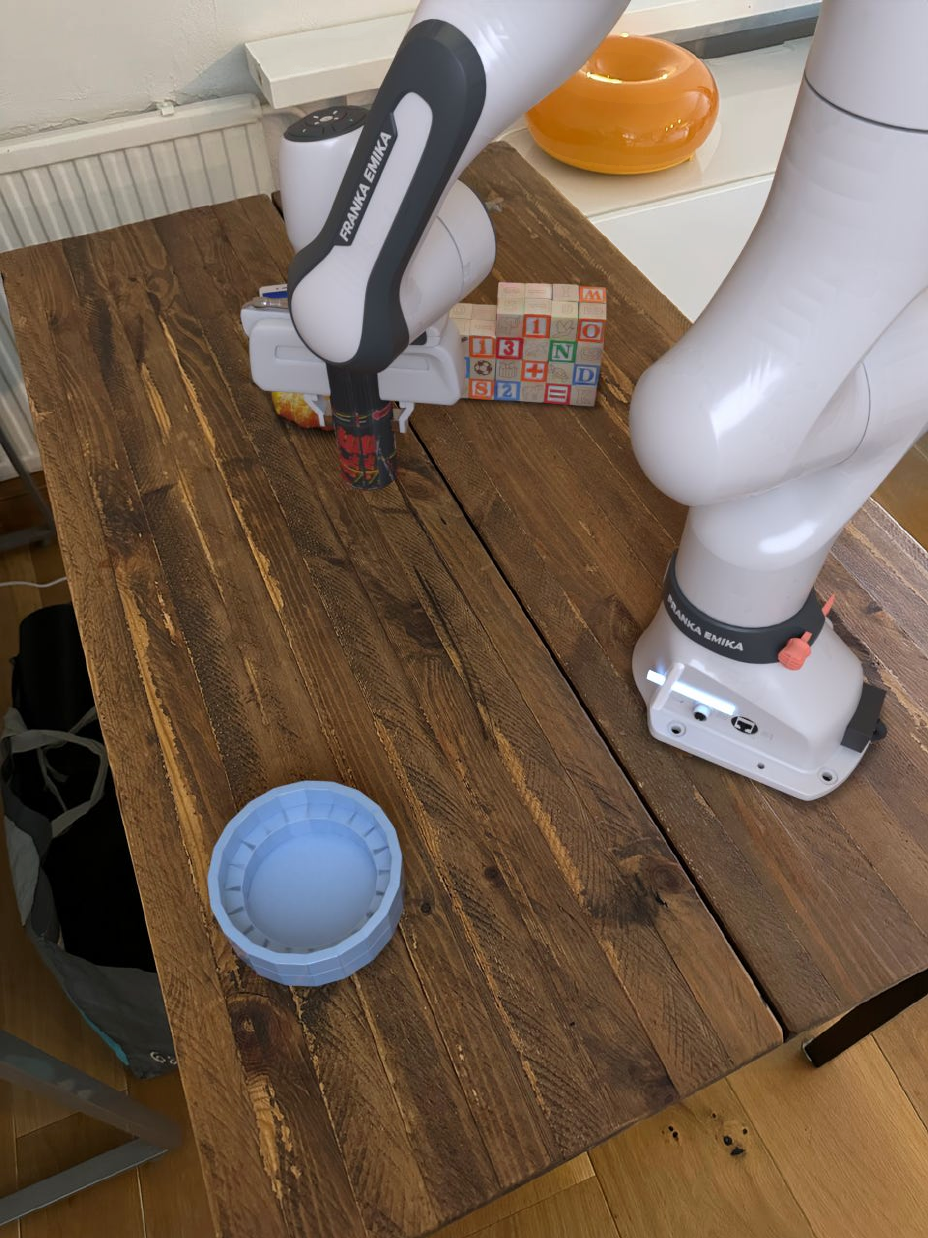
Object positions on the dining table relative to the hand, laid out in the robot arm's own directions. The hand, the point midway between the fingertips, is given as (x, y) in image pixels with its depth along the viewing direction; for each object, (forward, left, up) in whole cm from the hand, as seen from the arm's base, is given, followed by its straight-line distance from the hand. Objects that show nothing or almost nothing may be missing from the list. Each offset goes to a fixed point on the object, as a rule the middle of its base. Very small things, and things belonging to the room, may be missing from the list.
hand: (364, 425), depth 95 cm
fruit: (+15, -8, -11) cm, 21 cm away
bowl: (-26, +36, -11) cm, 45 cm away
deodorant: (0, 0, -6) cm, 6 cm away
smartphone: (+30, -18, -11) cm, 37 cm away
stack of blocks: (+1, -25, -11) cm, 28 cm away
